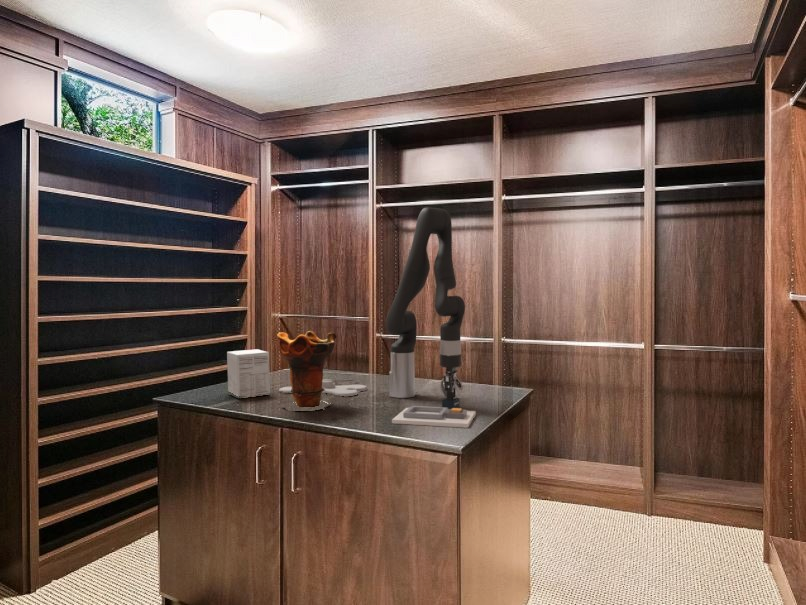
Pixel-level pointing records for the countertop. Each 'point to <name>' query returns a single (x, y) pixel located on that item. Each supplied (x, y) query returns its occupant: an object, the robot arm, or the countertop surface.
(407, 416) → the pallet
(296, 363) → the decorative vase
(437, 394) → the countertop surface
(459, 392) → the watch
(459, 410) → the button
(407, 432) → the countertop surface
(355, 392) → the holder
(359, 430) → the countertop surface
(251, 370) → the supplement box
